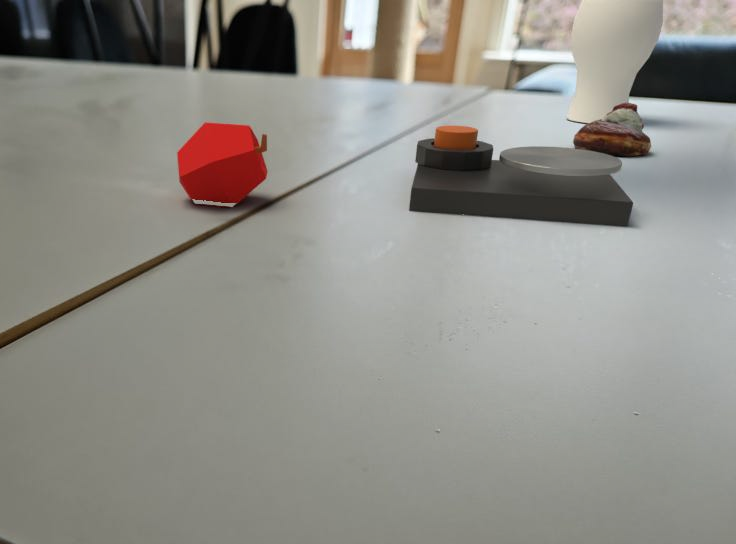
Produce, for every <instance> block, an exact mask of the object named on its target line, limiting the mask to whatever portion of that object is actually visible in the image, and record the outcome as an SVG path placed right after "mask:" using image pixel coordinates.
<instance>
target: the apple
mask: <svg viewBox="0 0 736 544" xmlns="http://www.w3.org/2000/svg"><path fill="white" fill-rule="evenodd" d="M267 151H268V134H267V133H262V135H261V142H260V143H259V139H258V138H257V136H256V134H255V133H254V131H253V129H252V127H251V126H250V125H248V124H236V123H235V124H234V123H221V122H219V123H218V122H204V123H203V124H202V125H201V126H200V127H198V129H197V130H196V131H195V132H194V133H193V135H191V137H190V138H188V140H187V141H186V142H185V143H184V144H183V145H182V147H181V148H179V149H178V151H177V152H176V157H177V169H178V180H179V184H180V185H181V187H182V188H183V190H184V191H185V193H186V194H187V196H188V197H189V199H190V198H191V199H195V200H203V201H204V200H206V201H213V202H221V203H237V204H239V203H240V202H241V201H242V200H243V199H245V197H247V196H248V195H249V194H250V193H252V192H253V191H255V189H256V188H257V187H258V186H260V185H261V184H262V183H263V182H265V180H266V179H267V178H268V177H267V176H268V168H267V165H266V162H265V157H264V155H263V153H265V152H267ZM191 199H190V200H191ZM196 205H198V206H205V205H204V204H196ZM207 206H210V207H216V206H215V205H207ZM217 207H219V208H227V207H226V206H217ZM228 208H229V209H230V208H232V207H228Z"/></svg>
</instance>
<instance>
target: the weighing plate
mask: <svg viewBox="0 0 736 544" xmlns="http://www.w3.org/2000/svg"><path fill="white" fill-rule="evenodd" d="M498 160H500V162H502V163H503V164H505V165H507V166H510V167H513V168H517V169H520V170H525V171H530V172H536V173H543V174H552V175H564V176H601V175H609V174H610V175H612V174H617V173H619V172H620V171H621V170H622V168H623V161H622V160H621V159H620V158H618V157H617V156H614V155H607V154H603V153H599V152H594V151H588V150H582V149H579V148H573V147H563V146H562V147H561V146H543V145H542V146H540V145H539V146H537V145H536V146H535V145H534V146H518V147H511V148H510V147H509V148H506V149H503V150H502V151H500V153H499V159H498Z"/></svg>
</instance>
